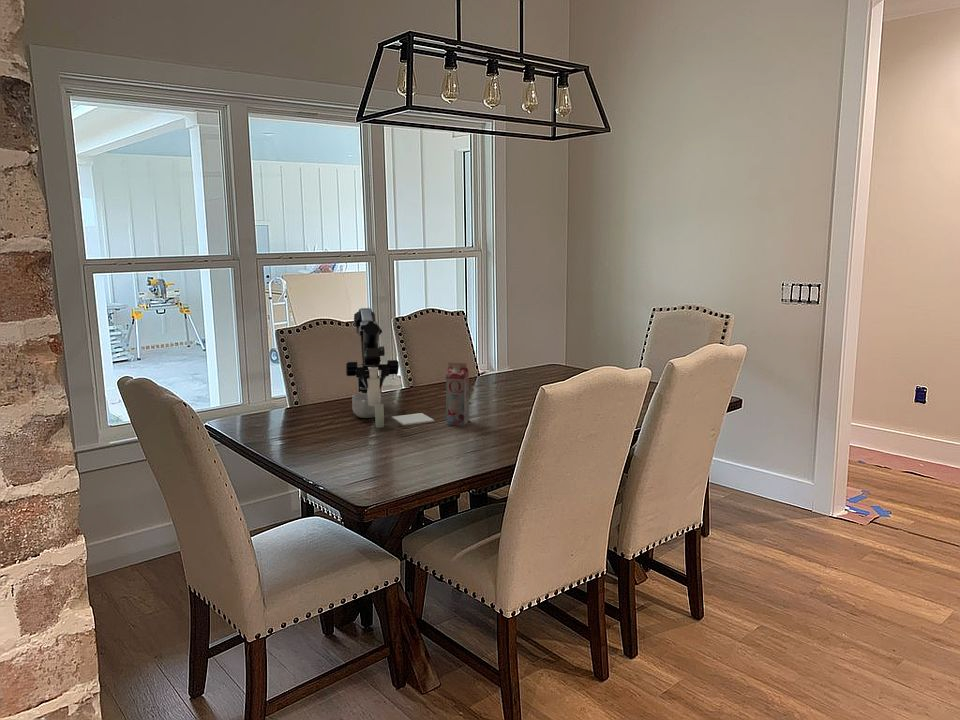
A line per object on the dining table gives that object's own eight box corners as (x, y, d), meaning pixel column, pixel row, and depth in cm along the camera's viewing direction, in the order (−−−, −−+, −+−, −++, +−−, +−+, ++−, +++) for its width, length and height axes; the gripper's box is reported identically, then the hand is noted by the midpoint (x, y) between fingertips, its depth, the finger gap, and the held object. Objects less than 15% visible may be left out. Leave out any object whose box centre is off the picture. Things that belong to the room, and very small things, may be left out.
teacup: (358, 412, 291) (358, 391, 290) (385, 413, 289) (385, 392, 288) (345, 421, 278) (344, 399, 276) (373, 422, 275) (372, 401, 274)
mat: (391, 418, 282) (391, 416, 281) (421, 414, 287) (421, 412, 287) (403, 425, 271) (403, 424, 271) (434, 421, 276) (434, 420, 276)
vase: (365, 404, 273) (364, 367, 271) (374, 402, 276) (373, 365, 274) (373, 406, 270) (372, 369, 268) (383, 404, 274) (382, 367, 271)
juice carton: (464, 425, 271) (464, 364, 267) (446, 424, 272) (445, 364, 269) (468, 420, 278) (468, 361, 274) (451, 419, 279) (450, 360, 275)
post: (374, 426, 270) (373, 404, 269) (382, 425, 272) (381, 403, 270) (377, 428, 268) (376, 406, 266) (385, 427, 269) (384, 405, 268)
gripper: (345, 339, 271) (347, 376, 262) (397, 337, 275) (401, 373, 266) (345, 357, 280) (347, 393, 271) (396, 355, 284) (399, 390, 275)
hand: (374, 387), depth 271 cm, fingers closed on vase, 5 cm apart
